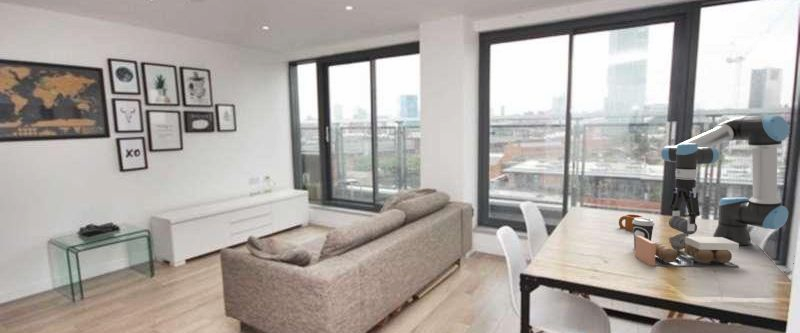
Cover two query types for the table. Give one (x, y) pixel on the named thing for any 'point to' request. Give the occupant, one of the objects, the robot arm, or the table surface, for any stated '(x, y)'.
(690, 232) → the roller
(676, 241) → the mineral specimen
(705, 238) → the slab
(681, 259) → the roller bed
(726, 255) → the roller
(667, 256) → the roller
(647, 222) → the coffee cup
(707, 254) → the roller
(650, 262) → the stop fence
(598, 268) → the table surface
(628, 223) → the mug
